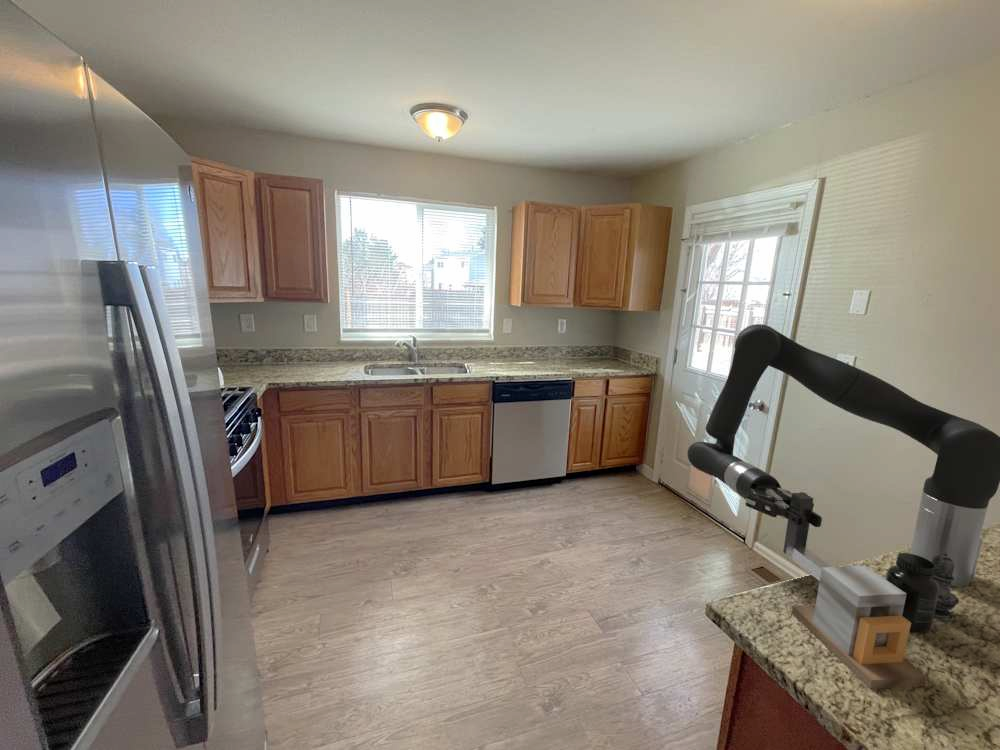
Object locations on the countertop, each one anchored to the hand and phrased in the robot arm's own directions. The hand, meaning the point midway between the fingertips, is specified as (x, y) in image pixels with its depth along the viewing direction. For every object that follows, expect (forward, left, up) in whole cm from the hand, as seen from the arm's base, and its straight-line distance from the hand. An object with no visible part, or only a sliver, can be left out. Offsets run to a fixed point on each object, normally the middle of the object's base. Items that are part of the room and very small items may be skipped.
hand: (811, 522), depth 79 cm
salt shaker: (-23, +5, -16) cm, 28 cm away
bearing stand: (0, +11, -16) cm, 20 cm away
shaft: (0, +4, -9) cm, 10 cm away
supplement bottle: (-15, +7, -16) cm, 23 cm away
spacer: (0, +16, -15) cm, 21 cm away
